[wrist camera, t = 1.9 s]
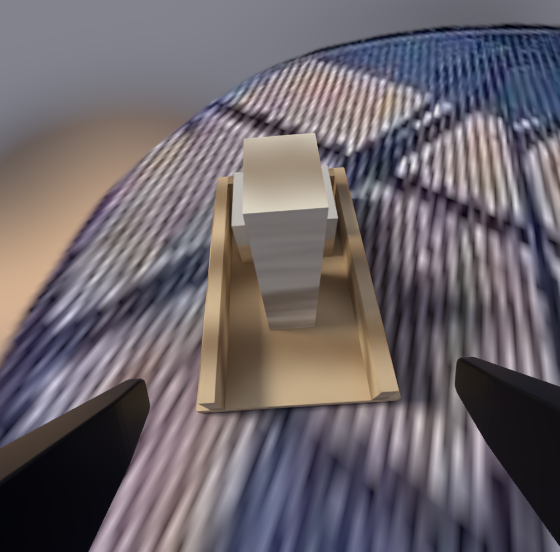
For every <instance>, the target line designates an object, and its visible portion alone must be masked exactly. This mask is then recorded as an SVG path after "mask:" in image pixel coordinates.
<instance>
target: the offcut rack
mask: <svg viewBox="0 0 560 552" xmlns="http://www.w3.org/2000/svg"><path fill="white" fill-rule="evenodd" d="M328 171H329V176H330V181H331V186H332V191H333V196H334V201H335V206H336V211H337V216H338V221H337V227H336V234H335V240H334V246H333V252H332V257H323V260H322V268H321V277H320V285H319V294H318V302H317V310H316V319H315V327H310V328H296V329H281V330H269V325H268V321H267V317H266V313H265V308H264V304H263V300H262V295H261V291H260V287H259V283H258V278H257V274H256V270H255V266H254V262H252V263H242V260H241V257H240V253H239V250H238V247H237V243H236V240H235V236H234V233H233V230H232V204H233V182H234V176H231V177H218V178H217V190H216V201H215V205H214V216H213V227H212V238H211V250H210V261H209V272H208V283H207V294H206V306H205V317H204V328H203V339H202V350H201V362H200V373H199V384H198V395H197V406H196V411H197V412H199V413H210V412H226V411H242V410H258V409H274V408H290V407H306V406H321V405H337V404H353V403H369V402H385V401H397V400H399V399H401V396H400V392H399V388H398V384H397V380H396V376H395V372H394V368H393V364H392V359H391V355H390V351H389V347H388V343H387V339H386V335H385V331H384V327H383V323H382V319H381V315H380V311H379V307H378V303H377V299H376V295H375V291H374V287H373V283H372V279H371V274H370V270H369V266H368V262H367V258H366V254H365V250H364V246H363V242H362V238H361V234H360V230H359V226H358V222H357V218H356V214H355V210H354V206H353V202H352V198H351V194H350V190H349V186H348V182H347V178H346V174H345V170H344V168H331V169H328Z"/></svg>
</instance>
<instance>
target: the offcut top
mask: <svg viewBox="0 0 560 552" xmlns="http://www.w3.org/2000/svg"><path fill="white" fill-rule="evenodd" d="M321 169H322V174H323V179H324V185H325V190H326V196H327V201H328V206H329V209H328V217H327V226H326V234H325V240H329V239H335V234H336V227H337V221H338V216H337V211H336V206H335V201H334V196H333V191H332V186H331V181H330V176H329V171H328V167H327V165H325V166H321ZM242 210H243V172H237V173H234V182H233V204H232V230H233V233H234V236H235V240H236V243H237V246H248V245H250V244H249V240H248V236H247V231H246V227H245V223H244V219H243V214H242Z"/></svg>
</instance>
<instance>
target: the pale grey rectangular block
mask: <svg viewBox="0 0 560 552" xmlns="http://www.w3.org/2000/svg"><path fill="white" fill-rule="evenodd" d="M328 209H329V206H328V201H327V196H326V190H325V185H324V179H323V174H322V169H321V163H320V158H319V153H318V147H317V142H316V137H315V133H308V134H296V135H284V136H272V137H259V138H247V139H244V163H243V210H242V214H243V219H244V223H245V227H246V231H247V236H248V240H249V244H250V248H251V253H252V257H253V261H254V266H255V270H256V274H257V278H258V283H259V287H260V291H261V295H262V300H263V304H264V308H265V313H266V317H267V321H268V325H269V330H281V329H296V328H310V327H315V319H316V310H317V302H318V294H319V285H320V277H321V268H322V260H323V251H324V243H325V234H326V226H327V217H328Z"/></svg>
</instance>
